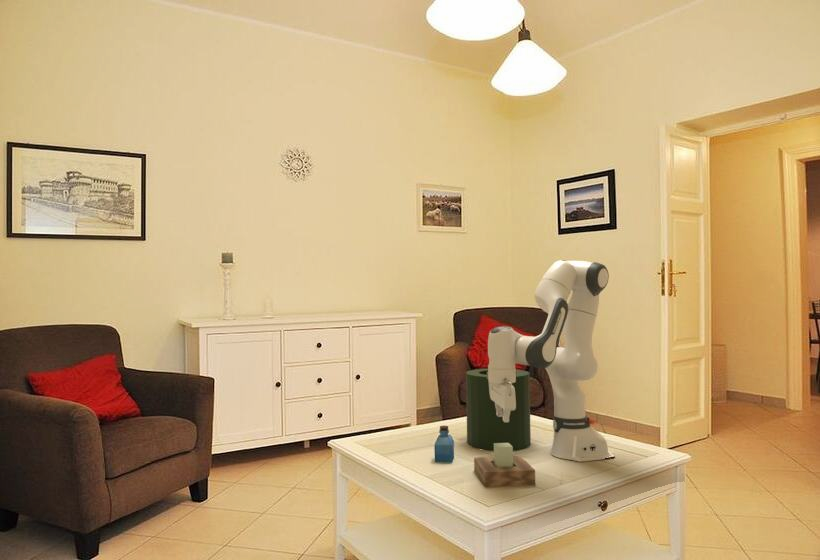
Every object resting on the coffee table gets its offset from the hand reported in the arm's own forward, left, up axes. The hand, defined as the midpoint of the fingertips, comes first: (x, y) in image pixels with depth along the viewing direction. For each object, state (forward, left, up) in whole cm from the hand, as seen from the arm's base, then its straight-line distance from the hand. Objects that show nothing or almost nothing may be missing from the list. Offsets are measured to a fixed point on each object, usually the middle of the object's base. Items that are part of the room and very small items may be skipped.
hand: (502, 419), depth 185 cm
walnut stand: (0, 0, -19) cm, 19 cm away
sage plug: (0, 0, -17) cm, 17 cm away
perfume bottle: (+16, -22, -19) cm, 33 cm away
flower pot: (-9, -42, -19) cm, 47 cm away
